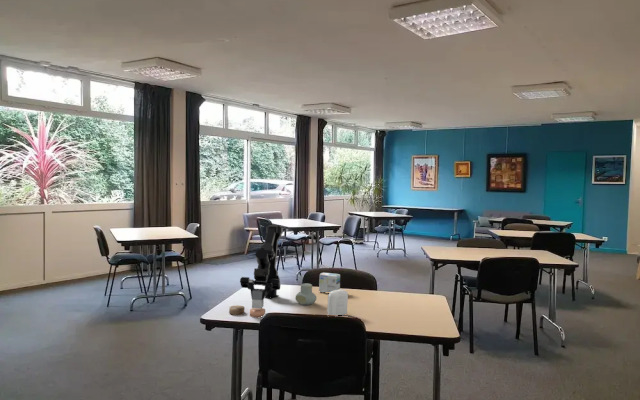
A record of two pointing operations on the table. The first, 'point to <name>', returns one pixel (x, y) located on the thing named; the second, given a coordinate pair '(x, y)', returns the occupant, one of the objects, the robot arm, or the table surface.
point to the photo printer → (337, 302)
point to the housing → (257, 298)
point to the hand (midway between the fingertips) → (257, 299)
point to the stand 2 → (257, 312)
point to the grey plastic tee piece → (306, 295)
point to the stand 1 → (236, 310)
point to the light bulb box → (329, 282)
